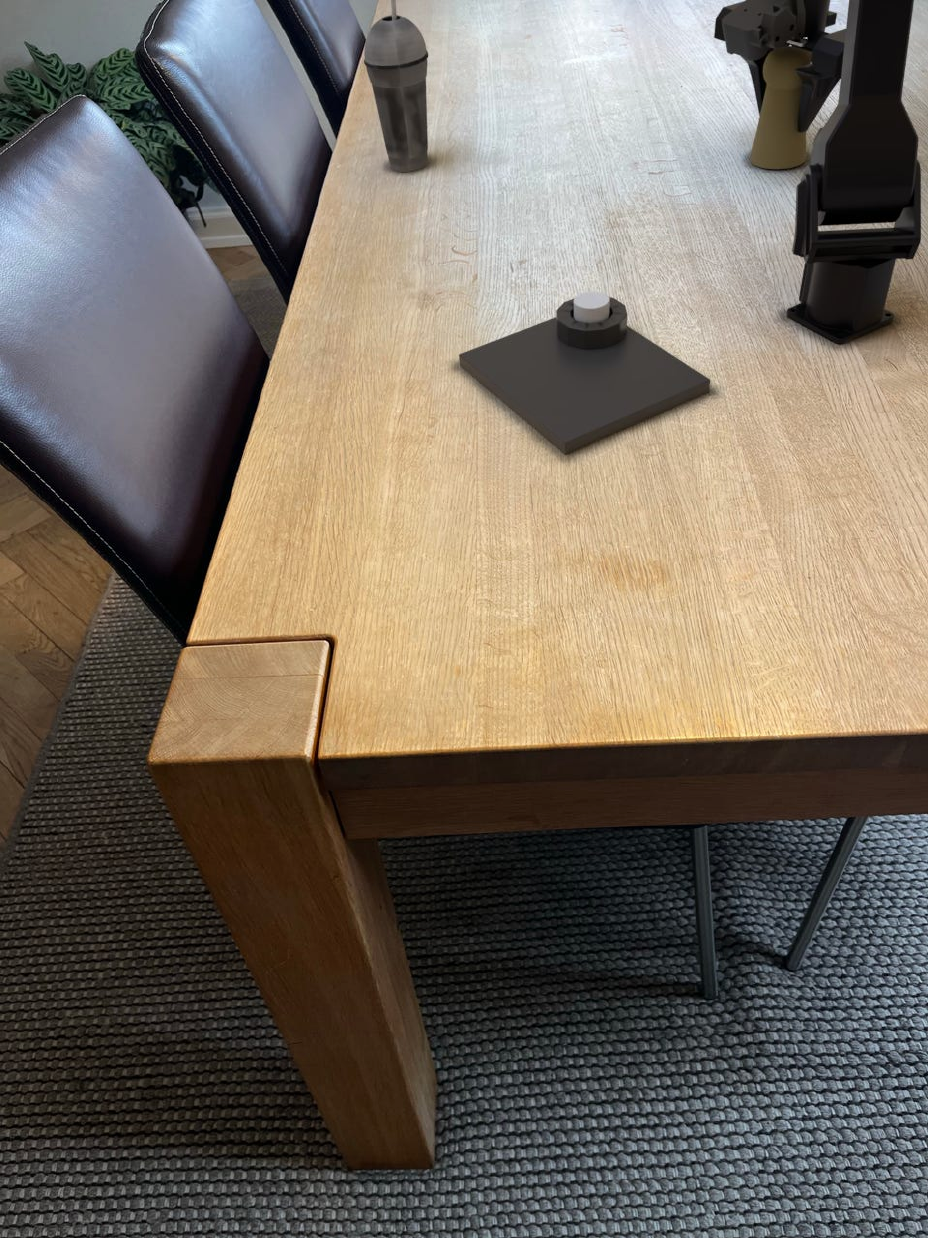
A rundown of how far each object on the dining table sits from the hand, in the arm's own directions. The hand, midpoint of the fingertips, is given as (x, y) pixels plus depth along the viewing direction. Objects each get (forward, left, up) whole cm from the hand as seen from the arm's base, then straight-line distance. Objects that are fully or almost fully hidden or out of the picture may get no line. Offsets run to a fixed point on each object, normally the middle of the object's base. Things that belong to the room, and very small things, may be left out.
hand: (782, 123), depth 106 cm
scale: (-23, +43, -4) cm, 49 cm away
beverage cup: (+28, +32, -4) cm, 43 cm away
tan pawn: (0, 0, -4) cm, 4 cm away
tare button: (-19, +39, -1) cm, 44 cm away
